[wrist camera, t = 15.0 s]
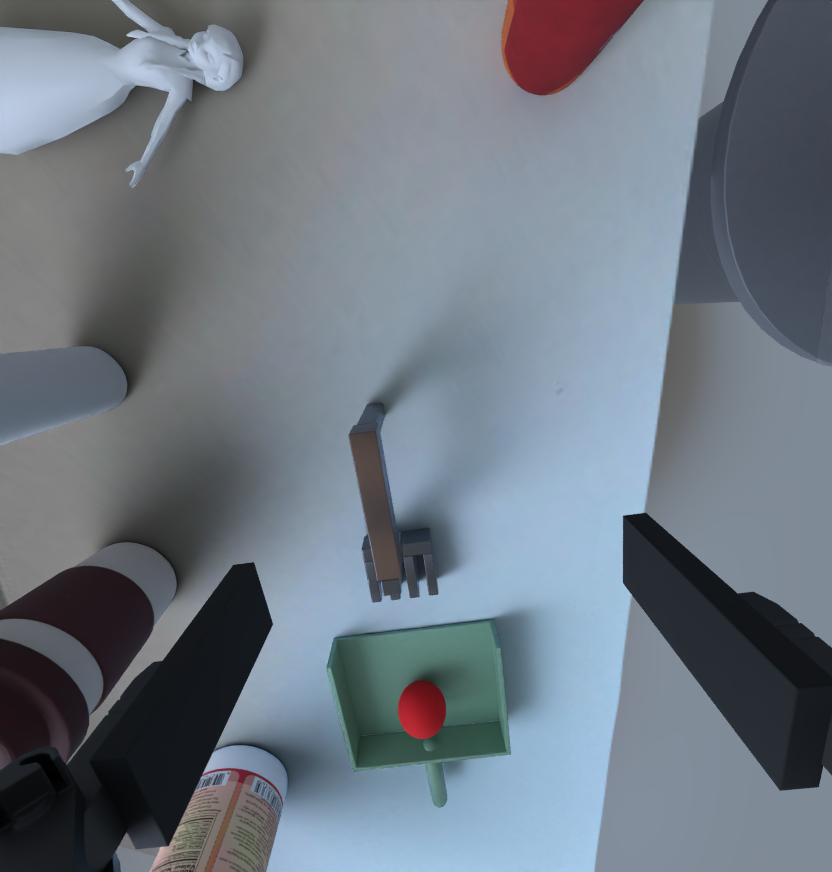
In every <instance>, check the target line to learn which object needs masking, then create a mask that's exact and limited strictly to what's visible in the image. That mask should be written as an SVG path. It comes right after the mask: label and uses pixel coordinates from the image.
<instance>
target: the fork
mask: <svg viewBox="0 0 832 872" xmlns="http://www.w3.org/2000/svg"><path fill="white" fill-rule="evenodd" d="M384 417H385V416H384V410H383V404H382V403H374V404H367V406H366V408H365V410H364V412H363V414H362V416H361V418H360V420H359V422H358V424H357V425H354V426H353V427H352V429H351V431H350V433H349V440H350V445H351V450H352V456H353V461H354V466H355V471H356V476H357V481H358V486H359V491H360V496H361V501H362V506H363V511H364V516H365V521H366V527H367V532H368V536H365V537H364V541H363V545H362V554H363V559H364V564H365V569H366V574H367V579H368V584H369V588H370V593H371V598H372V602H381V601H382V592H383V595H384V596H387V595H390V596H391V600H398V599H400V598H401V584H402V559H403V560H404V565H405V571H406V577H407V583H408V589H409V595H410V598H416V597H419V578H418V572H417V566H416V559H415V555H421V554H423V559H424V566H425V572H426V579H427V585H428V592H429V595H438V583H437V575H436V568H435V561H434V555H433V548H432V541H431V534H430V529H429V528H427V529H419V530H411V531H403V532H401V531H398V532H397V527H396V521H395V515H394V510H393V504H392V498H391V492H390V486H389V481H388V475H387V469H386V463H385V457H384V452H383V446H382V440H381V434H380V432H381V428H382V424H383V421H384Z"/></svg>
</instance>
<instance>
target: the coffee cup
mask: <svg viewBox="0 0 832 872" xmlns="http://www.w3.org/2000/svg"><path fill="white" fill-rule="evenodd" d="M176 587H177V581H176V576H175V573H174V570H173V568H172V566H171V565H170V563H169V562H168V561H167V560H166V559H165V558H164V557H163V556H162V555H161V554H160V553H158V552H157V551H155V550H154V549H152V548H150V547H147V546H145V545H142V544H137V543H131V542H123V543H116V544H112V545H110V546H107V547H105V548H103V549H101V550H100V551H98V552H97V553H95V554H94V555H92V556H91V557H89V558H87V559H86V560H84V561H83V562H81V563H80V564H78V565H77V566H75V567H73V568H70V569H67V570H65V571H63V572H61V573H59V574H57V575H56V576H54V577H53V578H51V579H50V580H48V581H46V582H45V583H43V584H42V585H40V586H38V587H37V588H35V589H34V590H32V591H31V592H29V593H27V594H26V595H24V596H23V597H21V598H20V599H18V600H16V601H15V602H13V603H12V604H10V605H9V606H7V607H5V608H4V609H2V610H1V611H0V770H1V769H3V768H4V767H5V766H7V765H8V764H10V763H11V762H13V761H14V760H16V759H17V758H19V757H20V756H22V755H24V754H26V753H28V752H30V751H33V750H35V749H37V748H42V747H47V746H50V747H54V748H57V749H58V751H59V753H60V754H61V756H62V758H63V760H64V762H65V763H66V762H67V761H68V760H69V758H70V757H71V756H72V754H73V753H74V752H75V751H76V749H77V748H78V747H79V745H80V744H81V743H82V741H83V739H84V737H85V735H86V733H87V729H88V726H89V715H90V714H92V713H93V712H94V711H95V710H97V709H98V707H99V706H100V705H101V704H102V703H103V702H104V700H105V699H106V697H107V696H108V695H109V693H110V692H111V690H112V689H113V688H114V686H115V685H116V683H117V682H118V680H119V679H120V678H121V676H122V675H123V673H124V672H125V671H126V669H127V668H128V666H129V665H130V663H131V662H132V661H133V659H134V658H135V656H136V655H137V654H138V652H139V651H140V649H141V648H142V647H143V645H144V644H145V642H146V641H147V639H148V638H149V636H150V634H151V632H152V630H153V626H154V625H155V624H156V622H157V621H158V619H159V618H160V617H161V615H162V614H163V612H164V611H165V610H166V608H167V607H168V605H169V604H170V603H171V601H172V600H173V597H174V595H175V592H176Z"/></svg>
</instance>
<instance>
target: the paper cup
mask: <svg viewBox="0 0 832 872" xmlns="http://www.w3.org/2000/svg"><path fill="white" fill-rule="evenodd" d="M643 1H644V0H508V5H507V9H506V14H505V19H504V25H503V31H502V55H503V60H504V63H505V66H506V69H507V71H508V73H509V75H510V76H511V78H512V79H513V80H514V82H515V83H516V84H517V85H518V86H520V87H521V88H522V89H524V90H525V91H527V92H529V93H532V94H536V95H549V94H554V93H557V92H559V91H561V90H563V89H564V88H566V87H567V86H569V85H570V84H571V83H572V82H574V81H575V80H576V79H577V78H578V76H579V75H580V74H581V73H582V72H583V71H584V70H585V69H586V68H587V67H588V66H589V64H590V63H591V62H592V61H593V60H594V59H595V57H596V56H597V55H598V54H599V53H600V52H601V50H602V49H603V48H604V47H605V46H606V45H607V43H608V42H609V41H610V40H611V39H612V38H613V36H614V35H615V34H616V33H617V32H618V30H619V29H620V28H621V27H622V26H623V24H624V23H625V22H626V21H627V20H628V19H629V17H630V16H631V15H632V14H633V13H634V11H635V10H636V9H637V8H638V7H639V5H640V4H641V3H642V2H643Z"/></svg>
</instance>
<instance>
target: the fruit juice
mask: <svg viewBox="0 0 832 872" xmlns="http://www.w3.org/2000/svg"><path fill="white" fill-rule="evenodd" d="M287 785H288V779H287V773H286V770H285V768H284V766H283V765H282V763H281V762H280V761H279V760H278V759H277V758H276V757H274V756H273V755H272V754H270V753H268V752H267V751H264V750H262V749H259V748H256V747H252V746H245V745H235V746H228V747H224V748H221V749H219V750H216V751H215V752H213V753H212V755H211V758H210V760H209V762H208V764H207V766H206V768H205V770H204V772H203V775H202V777H201V779H200V781H199V783H198V785H197V787H196V789H195V792H194V794H193V796H192V798H191V800H190V802H189V804H188V807H187V809H186V811H185V813H184V815H183V817H182V819H181V821H180V824H179V826H178V828H177V830H176V832H175V834H174V836H173V838H172V841H171V843H170V845H169V846H165V847H161V848H160V850H159V852H158V855H157V857H156V859H155V861H154V863H153V865H152V867H151V869H150V872H266V870H267V866H268V862H269V858H270V855H271V851H272V847H273V843H274V839H275V836H276V832H277V828H278V824H279V820H280V817H281V813H282V809H283V805H284V801H285V798H286V792H287Z"/></svg>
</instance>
